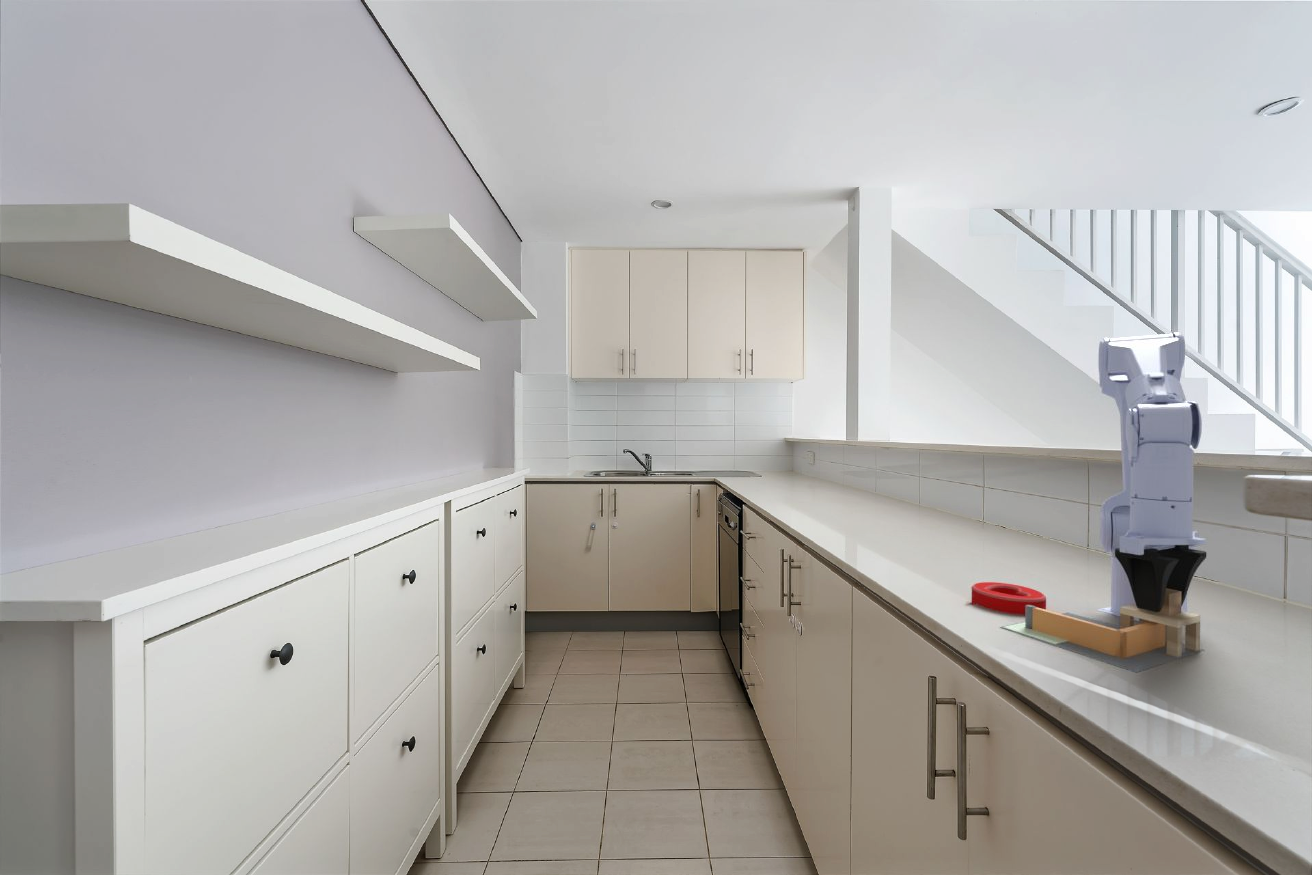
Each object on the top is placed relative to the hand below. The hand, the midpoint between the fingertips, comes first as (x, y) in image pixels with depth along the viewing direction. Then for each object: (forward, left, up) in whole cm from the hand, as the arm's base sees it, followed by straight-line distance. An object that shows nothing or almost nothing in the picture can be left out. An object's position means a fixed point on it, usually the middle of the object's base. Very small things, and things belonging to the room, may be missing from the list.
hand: (1159, 606), depth 66 cm
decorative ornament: (+1, -18, -6) cm, 19 cm away
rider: (0, 0, -5) cm, 5 cm away
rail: (+4, -5, -5) cm, 8 cm away
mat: (+4, -4, -5) cm, 8 cm away
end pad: (+9, -8, -5) cm, 14 cm away
